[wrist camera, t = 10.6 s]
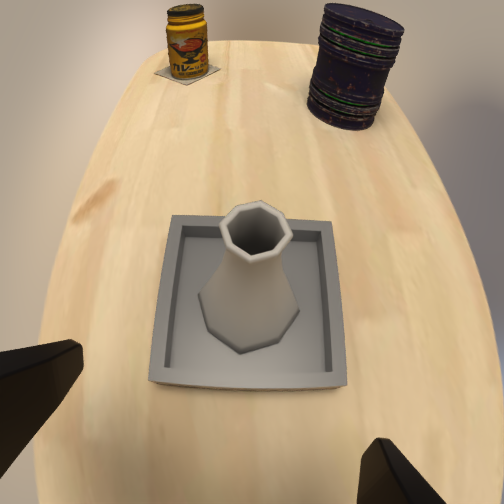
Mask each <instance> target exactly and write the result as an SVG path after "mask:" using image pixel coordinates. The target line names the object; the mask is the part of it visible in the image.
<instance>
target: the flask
mask: <svg viewBox="0 0 504 504" xmlns="http://www.w3.org/2000/svg"><path fill="white" fill-rule="evenodd" d="M219 228H220V231H221V234H222V237H223V240H224V244H225V247H226V250H225V253H224V257H223V260H222V263H221V264H220V266H219V267H218V268H217V270H216V271H215V273H214V274H213V275H212V277H211V278H210V280H209V281H208V282H207V283H206V284H205V286H204V287H203V288H202V289H201V291H200V292H199V293H198V299H199V303H200V306H201V310H202V314H203V317H204V321H205V325H206V328H207V331H208V332H210V333H211V334H212V335H214V336H215V337H217V338H218V339H219V340H221V341H222V342H223V343H225V344H226V345H228V346H229V347H230V348H232V349H233V350H235V351H236V352H237V353H239V354H242V353H246V352H249V351H252V350H256V349H259V348H262V347H266V346H269V345H272V344H275V343H278V342H279V341H280V340H281V339H282V337H283V336H284V334H285V333H286V331H287V330H288V328H289V327H290V326H291V324H292V323H293V321H294V320H295V318H296V317H297V315H298V314H299V312H300V310H299V307H298V305H297V302H296V300H295V297H294V295H293V292H292V290H291V287H290V285H289V282H288V280H287V277H286V275H285V273H284V271H283V269H282V259H281V254H282V251H283V249H284V248H285V247H286V246H287V244H288V243H289V242H290V240H291V239H292V238H293V233H292V231H291V229H290V227H289V224H288V222H287V220H286V218H285V216H284V214H283V213H282V212H281V211H279V210H277V209H275V208H274V207H272V206H270V205H269V204H267V203H265V202H263V201H262V200H260V201H255V202H251V203H246V204H242V205H237V206H235V207H234V208H233V209H232V210H231V211H230V212H229V213H228V214H227V215H226V217H225V218H224V219H223V220H222V221H221V222H220V223H219Z"/></svg>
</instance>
